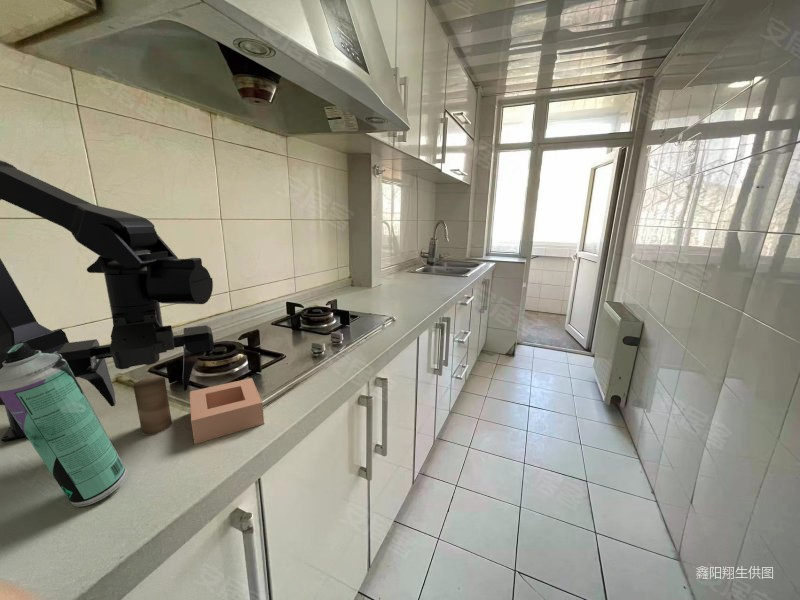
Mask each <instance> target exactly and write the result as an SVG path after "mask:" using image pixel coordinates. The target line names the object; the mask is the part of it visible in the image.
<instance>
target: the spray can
mask: <svg viewBox="0 0 800 600" xmlns="http://www.w3.org/2000/svg"><path fill="white" fill-rule="evenodd" d="M4 353H5V355H6V356H7V357H6V358H5V361H4V362H3V363H2V364H3V367H2V368H1V369H0V397H1V399H2V400H3V402H4V403H5V405H6V406H7V408H8V409H9V411H10V412H11V414H12V415H13V417H14V418H15V420H16V421H17V423H18V424H19V426H20V427H21V429H22V430H23V432H24V433H25V435H26V438H27V439H28V441H29V443H30V444H31V445H32V447H33V448H34V450H35V451H36V453H37V454H38V455H39V457H40V459H41V460H42V462H43V463H44V464H45V467H46V468H47V469H48V471H49V472H50V474H51V475H52V476H53V478H54V480H55V481H56V483H57V484H58V486H59V487H60V488H61V490H62V491H63V493H64V494H65V496H66V497H67V499H68V500H69V502H70V503H71V504H72V505H73V506H74V507H78V508H79V507H86V506H90V505H92V504H94V503H97V502H99V501H101V500H103V499H105V498H107V497H108V496H110V495H111V494H112V493H113V492H115V491H116V490H117V489H118V488H119V487H120V486H121V485H122V484H123V483H124V482H125V480H126V478H127V476H128V470H127V468H126V466H125V464H124V463H123V461H122V459H121V457H120V455H119V454H118V452H117V449H116V448H115V446H114V445H113V443H112V440H111V439H110V437H109V436H108V434H107V432H106V430H105V429H104V426H103V425H102V423H101V421H100V419H99V418H98V416H97V414H96V412H95V410H94V408H93V407H92V406H91V403H90V402H89V399H88V398H87V396H86V394H85V393H84V390H83V388H82V387H81V385H80V384H79V382H78V380H77V377H75V376H74V374H73V373H72V371H71V369H70V367H69V365H68V364H67V362H66V360H64V359H62V356H61V354H48V353H41V351H39V350H34V349H30V347H29V346H28V344H27V343H19V344H16V345H13V346H10V347H8V348H6V349H5V350H4Z"/></svg>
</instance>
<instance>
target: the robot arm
mask: <svg viewBox="0 0 800 600" xmlns="http://www.w3.org/2000/svg"><path fill="white" fill-rule="evenodd" d="M2 200H3V201H5V202H6V203H8V204H10V205H14V206H15V207H18V208H19V209H22V210H25V211H26V212H29V213H31V214H33V215H36V216H37V217H40V218H43V219H44V220H46V221H48V222H51V223H53V224H54V225H55V224H56V225H57V226H60V227H62V228H64V229H65V230H66V231H68V232H70V233H71V234H72V236H73V238H74V239H75V241H76V242H77V243H79V244H80V245H81V246H83V247H85V248H86V249H88V250H90V251H91V252H93V253H95V254H96V255H98V257H97V259H96V261H94V262H93V263H92V264H90V265H89V266H88V267H87V268H86V272H87V273H89V274H90V273H91V274H104V280H105V285H106V291H107V295H108V296H107V298H108V303H109V308H110V313H111V319H112V324H113V325H112V330H111V333H110V340H111V341H110V344H103V345H100V343H99V340H98V339H88V340H86V339H85V340H80V341H72V342H70V341H69V340H68V337H67V335H66V332H65V331H64V330H63V329H61V328H57V329H53V330H51V329H49V328H47V327H46V326H44V325H42V324H40V323H39V322H38V321H37V319H36V317H35V316H34V314H33V312H32V310H31V309H30V306H29V305H28V304H27V302H26V300H25V298H24V297H23V295H22V293H21V292H20V289H19V287H18V286H17V285H16V283H15V281H14V279H13V278H12V276H11V274H10V272H9V270H8V269H7V267H6V265H5V263H4V262H3V260H2V259H1V258H0V369H1V368H2V367H3V364H2V363H3V362H4V361H5V358H6V357H7V356H6V355H5V353H4V350H5V349H6V348H8V347H10V346H13V345H16V344H19V343H27V344H28V346H29V347H30V349H34V350H39V351H41V353H48V354H61V356H62V359H64V360H66V362H67V364H68V365H69V367H70V369H71V371H72V373H73V374H74V376H75V378H80V379H83V380H86V381H88V382H89V383H90V384H91V385H92V386H93V387H94V388H95V389H96V390H97V391H98V393H100V394H101V396H102V398H104V400H105V401H106V402H107V403H108V404H109V406H110V407H115V406H116V403H117V402H116V394H115V389H114V386H113V383H112V377H111V375H110V373H109V368H108V365H107V364H108V363H107V361H106V359H110V358H112V360H113V364H114V366H115V368H116V369H118V370H127V369H130V368H132V367H133V368H134V367H137V366H138V367H139V366H143V365H145V366H151V365H154V364H156V363H158V362H159V361H160V359H161V358H160V356H161V355H160V354H163V353H167V351H173V350H175V348H176V349H177V348H181V347H183V361H182V362H183V363H182V365H183V367H182V369H183V370H182V387H183V391H184V392H186V391H188V387H189V383H190V379H191V375H192V373H193V369H194V365H195V364H196V361H197V360H198V359H199V357H203V356H205V355H206V352H210V351H212V350H214V349H215V345H214V336H213V331H212V328H211V327H210V326H209V325H207V324H206V325H199V326H198V325H197V326H190V327H184V328H183V334H178V335H174V331H173V328H172V325H170V324H169V325H164V324H163V318H162V313H161V305H160V304H163V305H164V304H165V305H166V304H168V305H169V304H170V305H171V304H172V305H173V304H174V305H175V304H176V305H177V304H178V305H205V304H207V302H208V301H209V300H210V299H211V296H212V293H213V289H214V281H213V277H211V274H210V273H209V270H208V269H207V268H206V266H203V261H202V258H201V257H190V258H178V256H177V254H175V253H174V251H173V250H172V249H171V248H170V247H169V245H167V244H166V242H165V241H164V240H163V239H162V238H161V236H159V234H158V233H157V230H156V229H155V224H154V223H152V221H151V220H149V219H147V218H145V217H143V216H140V215H136V214H133V213H130V212H126V211H122V210H119V209H115V208H114V209H113V208H109V207H104V206H100V205H96V204H94V203H91V202H89V201H86V200H84V199H82V198H80V197H78V196H75V195H74V194H71V193H70V192H67V191H65V190H64V189H61V188H59V187H56V186H54V185H52V184H51V183H48V182H45V181H44V180H41V179H39V178H37V177H35V176H33V175H31V174H29V173H27V172H24V171H23V170H20V169H17V167H16V166H14V165H13V164H11V163H9V162H7V161H5V160H0V201H2ZM0 406H4V409H5V412H6V416H7V419H8V422H9V426H10V427H8V429H7V430H6V432H5V433H3V435H2V436H1V438H0V441H1V443H2V442H3V443H4V442H8V441H13V440H16V439H20V438H27V436H26V435H25V433H24V432H23V430H22V429H21V427H20V426H19V424H18V423H17V421H16V420H15V418H14V417H13V415H12V414H11V412H10V411H9V409H8V408H7V406H6V405H5V403H4V402H3V400H2V399H1V397H0Z"/></svg>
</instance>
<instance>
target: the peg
mask: <svg viewBox="0 0 800 600" xmlns="http://www.w3.org/2000/svg"><path fill="white" fill-rule="evenodd" d="M132 386H133V392H134V397H135V402H136V407H137V414H138V419H139V423H140V428H141V433H142V434H143V435H146V436H147V435H149V436H150V435H156V434H159V433H162V432H164V431H166V430H168V429H169V428H170V427H171V426H172V424H173V421H172V416H171V415H172V414H171V408H170V402H169V396H168V389H167V384H166V377H163V376H151V377H145V378H143V379H141V380H138V381H137V382H135V383H134V384H133V385H132Z"/></svg>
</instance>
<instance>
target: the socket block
mask: <svg viewBox="0 0 800 600" xmlns="http://www.w3.org/2000/svg"><path fill="white" fill-rule="evenodd" d="M189 401H190V403H189V404H190V421H191V429H192V436H193V442H194V445H197V444H199V443H203V442H205V441H209V440H214V439H216V438H221V437H223V436H226V435H230V434H234V433H237V432H240V431H243V430H246V429H251V428H254V427H258V426H261V425H264V424H265V419H264V418H265V415H264V407H263V406H264V405H263V401H262V398H261V396H260V394H259V392H258V388H257V386H256V385H255V382H254V379H253V378H252V377H249V378H246V379H241V380H237V381H232V382H227V383H221V384H218V385H217V384H216V385H214V386H208V387H204V388H200V389H195V390H191V391H189ZM214 407H215V408H214Z"/></svg>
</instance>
